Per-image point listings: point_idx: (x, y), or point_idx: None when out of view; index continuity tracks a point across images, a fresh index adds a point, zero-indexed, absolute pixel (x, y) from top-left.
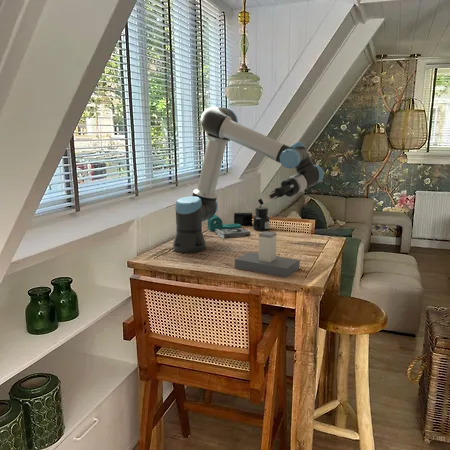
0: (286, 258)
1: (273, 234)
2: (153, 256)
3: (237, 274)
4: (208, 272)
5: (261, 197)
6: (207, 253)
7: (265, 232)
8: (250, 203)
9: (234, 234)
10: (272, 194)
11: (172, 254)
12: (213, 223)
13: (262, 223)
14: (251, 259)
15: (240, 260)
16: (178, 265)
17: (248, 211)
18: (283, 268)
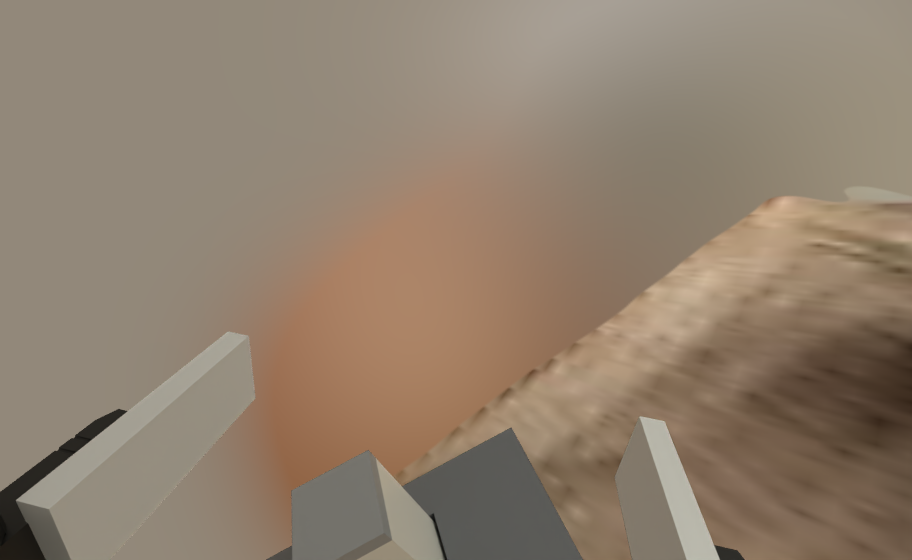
0: None
1: (293, 531)
2: (857, 243)
3: (473, 437)
4: (550, 359)
5: (236, 333)
6: (905, 464)
7: (357, 510)
8: (662, 484)
9: None
10: (87, 434)
11: (893, 304)
12: None
13: None
14: (460, 493)
15: (484, 442)
16: (680, 297)
17: (622, 476)
18: (283, 552)
